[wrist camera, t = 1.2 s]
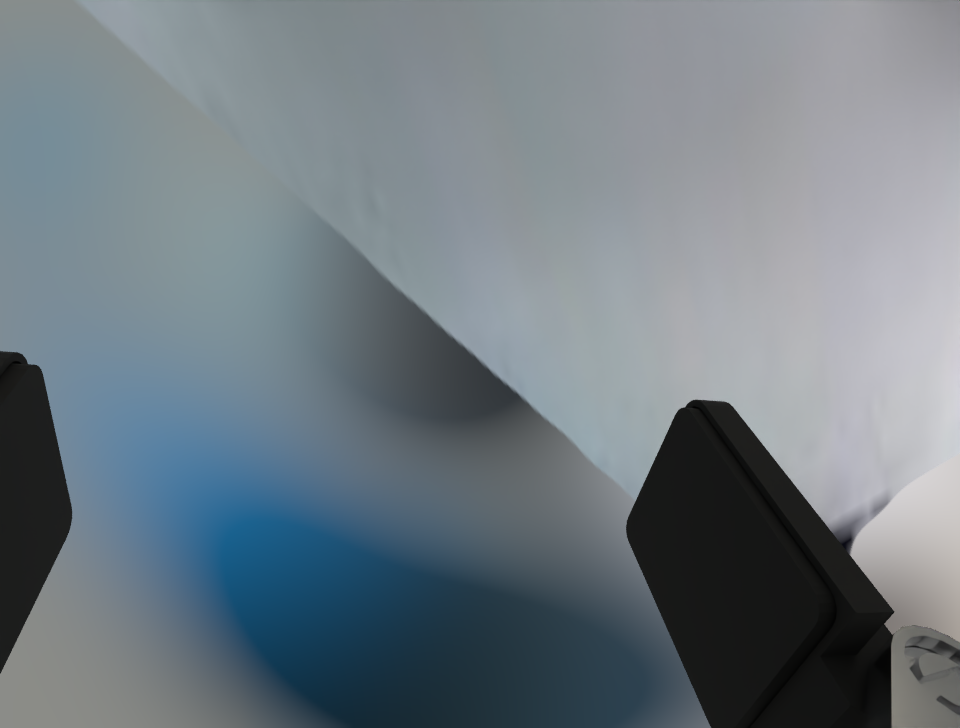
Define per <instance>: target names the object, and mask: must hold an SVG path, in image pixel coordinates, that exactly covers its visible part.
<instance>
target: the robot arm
mask: <svg viewBox="0 0 960 728" xmlns="http://www.w3.org/2000/svg"><path fill="white" fill-rule="evenodd" d="M71 521H72V507H71V502H70V497H69V493H68V488H67V484H66V479H65V474H64V470H63V465H62V460H61V456H60V451H59V447H58V442H57V437H56V433H55V428H54V424H53V419H52V415H51V410H50V406H49V401H48V396H47V391H46V387H45V382H44V377H43V374H42V371H41V369H40V367H39V366H37V365H29V364H28V363H27V360H26V359H25V357H24V356H23V355H22V354H20V353H17V352H3V351H0V673H1V671H2V669H3V667H4V665H5V663H6V661H7V659H8V657H9V655H10V653H11V651H12V648H13V647H14V645H15V642H16V641H17V638H18V636H19V634H20V632H21V630H22V628H23V626H24V624H25V622H26V620H27V618H28V616H29V614H30V612H31V610H32V608H33V606H34V604H35V601H36V599H37V597H38V595H39V593H40V591H41V589H42V587H43V585H44V583H45V581H46V579H47V577H48V574H49V573H50V571H51V568H52V566H53V564H54V562H55V560H56V558H57V556H58V554H59V552H60V550H61V548H62V546H63V544H64V542H65V540H66V538H67V535H68V533H69V530H70V526H71ZM626 532H627V538H628V541H629V543H630V546H631V548H632V550H633V552H634V555H635V557H636V559H637V561H638V564H639V566H640V568H641V570H642V572H643V575H644V577H645V579H646V582H647V584H648V586H649V589H650V591H651V593H652V595H653V598H654V600H655V602H656V604H657V607H658V609H659V611H660V613H661V616H662V618H663V620H664V623H665V625H666V627H667V629H668V632H669V634H670V636H671V638H672V640H673V643H674V645H675V647H676V650H677V652H678V654H679V656H680V658H681V661H682V663H683V666H684V668H685V670H686V672H687V675H688V677H689V679H690V681H691V684H692V686H693V688H694V690H695V692H696V695H697V697H698V699H699V702H700V704H701V706H702V709H703V711H704V713H705V715H706V718H707V720H708V722H709V724H710V726H711V728H960V643H959V642H958V641H956V640H955V639H953V638H951V637H950V636H948V635H945V634H943V633H941V632H938V631H936V630H933V629H931V628H927V627H921V626H916V625H912V626H905V627H901V628H900V629H899V630H898V631H896V632H895V633H894V634H893V635H892V634H891V633H890V631H889V630H888V629H887V628H886V626H885V625H884V623H885V622H886V621H887V620H888V619H889V618H890V617H891V615H892V614H893V613H894V611H893V610H892V608H891V607H890V606H889V604H888V603H887V602H886V601H885V599H884V598H883V597H882V596H881V594H880V593H879V592H878V591H877V589H876V588H875V587H874V585H873V584H872V583H871V582H870V580H869V579H868V578H867V577H866V575H865V574H864V573H863V572H862V570H861V569H860V568H859V567H858V565H857V564H856V563H855V561H854V560H853V559H852V557H851V556H850V555H849V554H848V552H847V551H846V550H845V549H844V547H843V546H842V545H841V543H840V542H839V541H838V540H837V538H836V537H835V536H834V535H833V533H832V532H831V531H830V530H829V528H828V527H827V526H826V524H825V523H824V522H823V521H822V519H821V518H820V517H819V516H818V514H817V513H816V512H815V510H814V509H813V508H812V507H811V505H810V504H809V503H808V502H807V500H806V499H805V498H804V496H803V495H802V494H801V493H800V491H799V490H798V489H797V488H796V486H795V485H794V484H793V483H792V481H791V480H790V479H789V477H788V476H787V475H786V474H785V472H784V471H783V470H782V469H781V467H780V466H779V465H778V463H777V462H776V461H775V460H774V458H773V457H772V456H771V455H770V453H769V452H768V451H767V450H766V448H765V447H764V446H763V444H762V443H761V442H760V441H759V439H758V438H757V437H756V436H755V434H754V433H753V432H752V430H751V429H750V428H749V427H748V425H747V424H746V423H745V422H744V420H743V419H742V418H741V417H740V415H739V414H738V413H737V411H736V410H735V409H734V408H733V407H732V406H731V405H730V404H729V403H727V402H721V401H707V400H693V401H691V402H689V403H688V404H687V405H686V407H685V408H681V409H680V410H678V412H677V413H676V415H675V417H674V419H673V421H672V423H671V426H670V428H669V430H668V432H667V434H666V436H665V439H664V441H663V443H662V445H661V447H660V450H659V452H658V454H657V456H656V458H655V460H654V463H653V465H652V467H651V469H650V471H649V473H648V476H647V478H646V480H645V482H644V484H643V486H642V489H641V491H640V493H639V495H638V497H637V500H636V502H635V504H634V506H633V508H632V511H631V513H630V515H629V517H628V520H627V525H626Z"/></svg>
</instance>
